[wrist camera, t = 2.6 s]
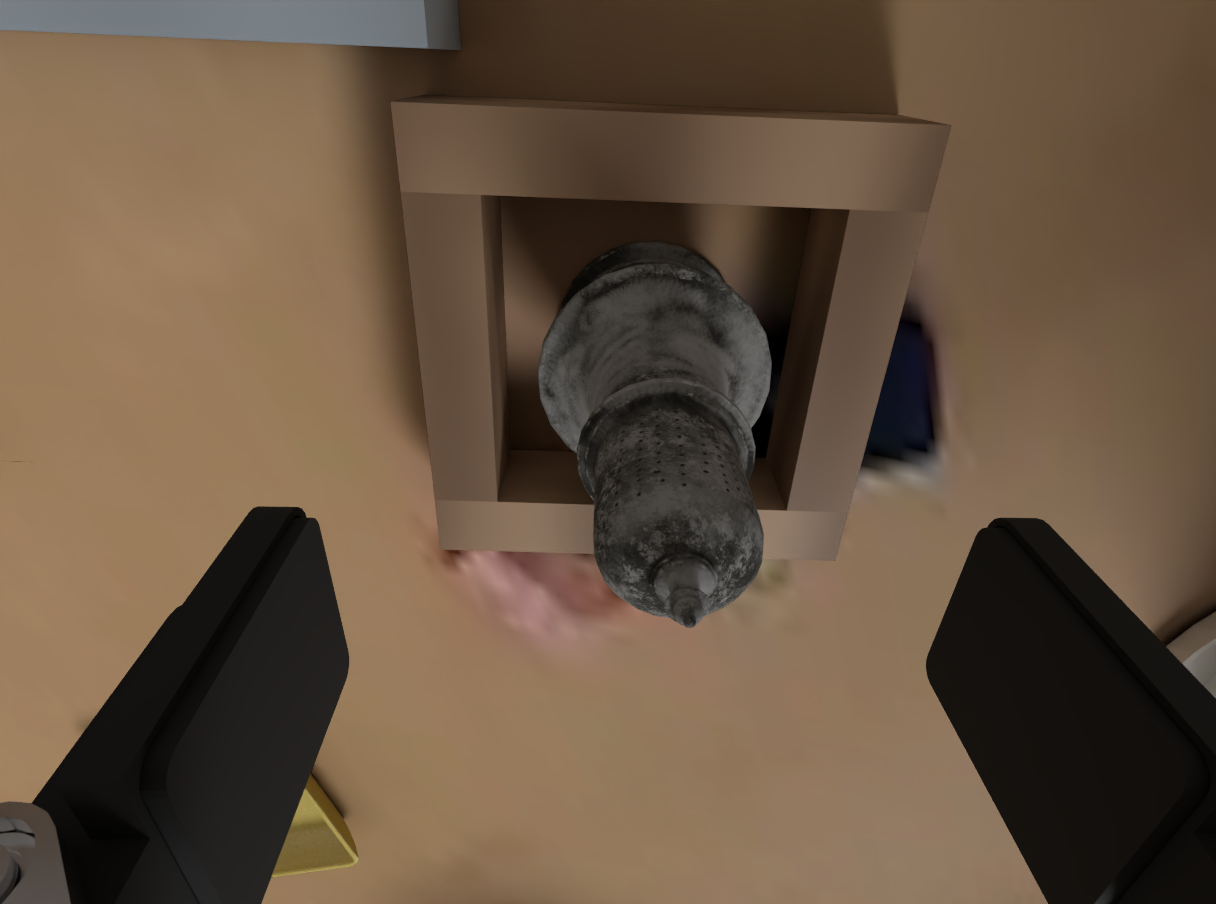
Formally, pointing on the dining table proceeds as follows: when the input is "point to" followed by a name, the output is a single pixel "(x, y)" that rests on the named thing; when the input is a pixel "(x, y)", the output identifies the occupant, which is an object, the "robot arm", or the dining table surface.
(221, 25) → the tray
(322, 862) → the yellow shallow rimmed piece
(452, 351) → the hollow square frame
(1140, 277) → the dining table surface
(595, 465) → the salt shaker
